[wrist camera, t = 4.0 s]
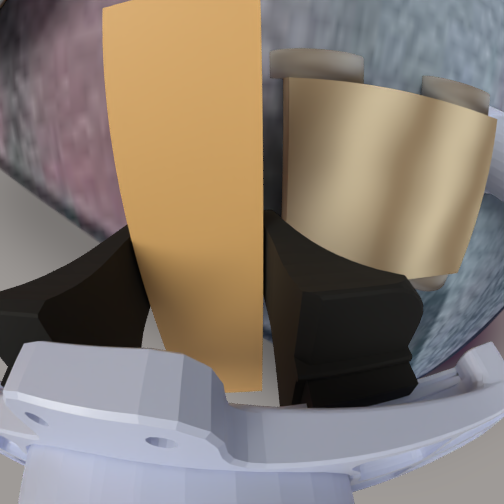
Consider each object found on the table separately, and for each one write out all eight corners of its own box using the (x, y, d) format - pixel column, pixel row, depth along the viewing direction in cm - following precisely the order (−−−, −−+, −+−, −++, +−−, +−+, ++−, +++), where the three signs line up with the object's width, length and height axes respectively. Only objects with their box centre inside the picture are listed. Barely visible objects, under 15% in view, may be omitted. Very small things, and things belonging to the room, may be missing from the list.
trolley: (457, 88, 15) (503, 100, 11) (426, 253, 23) (455, 287, 19) (264, 56, 14) (277, 46, 10) (265, 264, 23) (274, 309, 18)
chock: (247, 23, 9) (259, -14, 5) (254, 320, 18) (262, 390, 14) (150, 32, 9) (102, 8, 5) (190, 323, 17) (183, 393, 13)
